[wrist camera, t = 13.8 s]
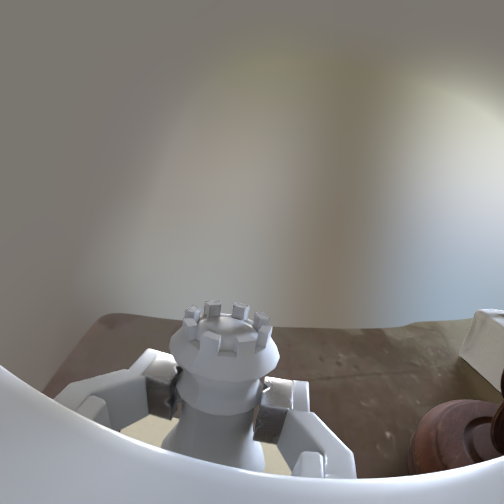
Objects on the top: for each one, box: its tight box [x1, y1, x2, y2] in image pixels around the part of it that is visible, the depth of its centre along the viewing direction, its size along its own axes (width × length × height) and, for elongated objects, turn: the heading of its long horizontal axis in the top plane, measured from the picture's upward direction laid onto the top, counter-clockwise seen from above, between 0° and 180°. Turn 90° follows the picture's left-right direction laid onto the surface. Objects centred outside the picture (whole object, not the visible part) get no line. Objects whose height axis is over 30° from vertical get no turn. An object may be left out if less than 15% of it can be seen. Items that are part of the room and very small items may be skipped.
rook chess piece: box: [161, 301, 280, 472], centre depth 9 cm, size 4×4×8 cm
